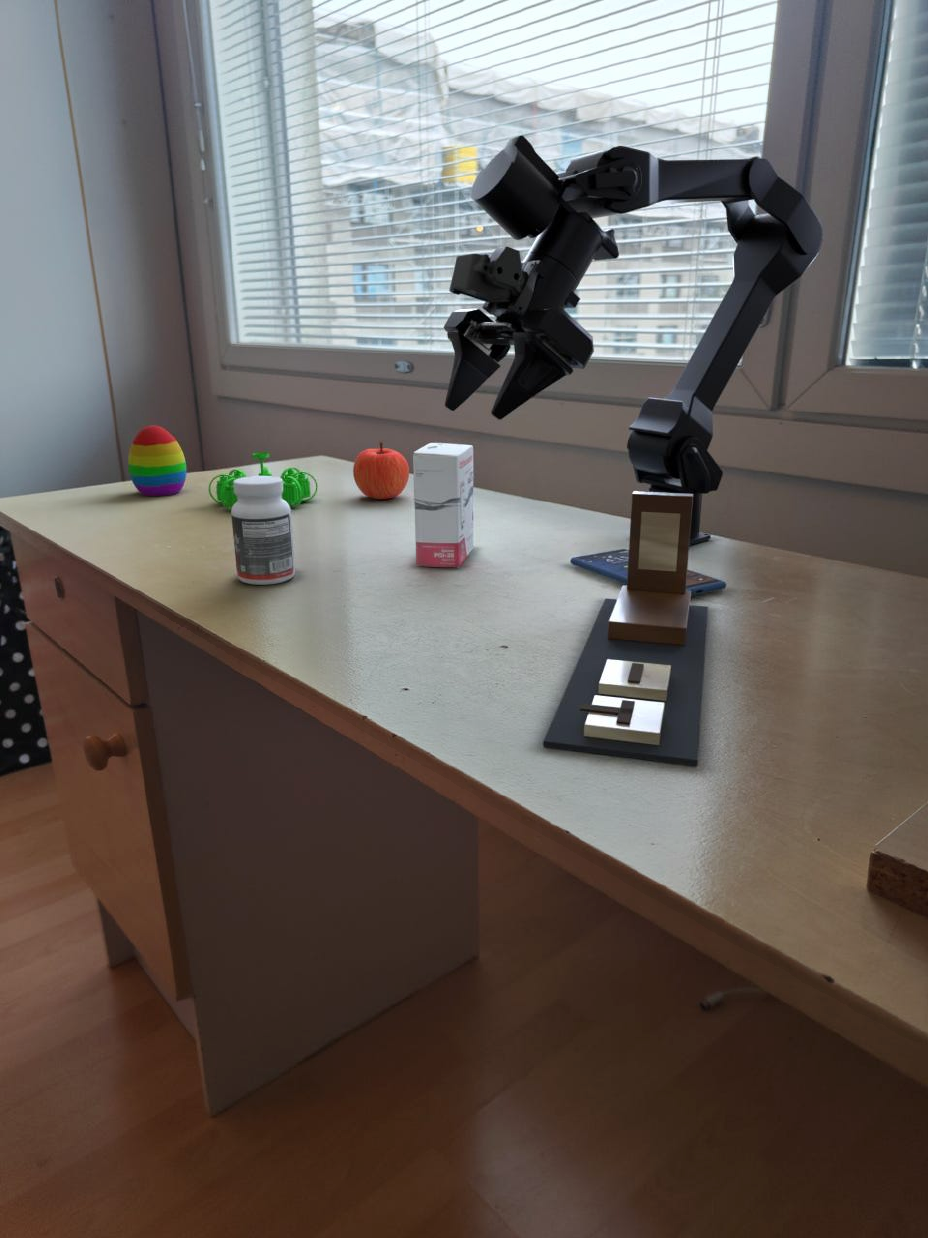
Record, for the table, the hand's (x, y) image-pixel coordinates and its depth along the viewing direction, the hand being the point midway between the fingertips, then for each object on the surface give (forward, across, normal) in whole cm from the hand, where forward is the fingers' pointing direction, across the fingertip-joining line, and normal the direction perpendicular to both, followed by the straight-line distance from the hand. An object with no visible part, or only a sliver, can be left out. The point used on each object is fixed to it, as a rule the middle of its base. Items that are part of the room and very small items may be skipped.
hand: (470, 412), depth 83 cm
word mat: (+14, +28, +8) cm, 33 cm away
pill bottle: (+24, -8, -6) cm, 26 cm away
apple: (+9, -40, +16) cm, 44 cm away
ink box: (+13, -6, +10) cm, 17 cm away
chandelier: (+18, -45, +2) cm, 49 cm away
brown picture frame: (+10, +22, +13) cm, 27 cm away
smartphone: (+5, +11, +20) cm, 24 cm away
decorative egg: (+24, -61, -7) cm, 66 cm away
